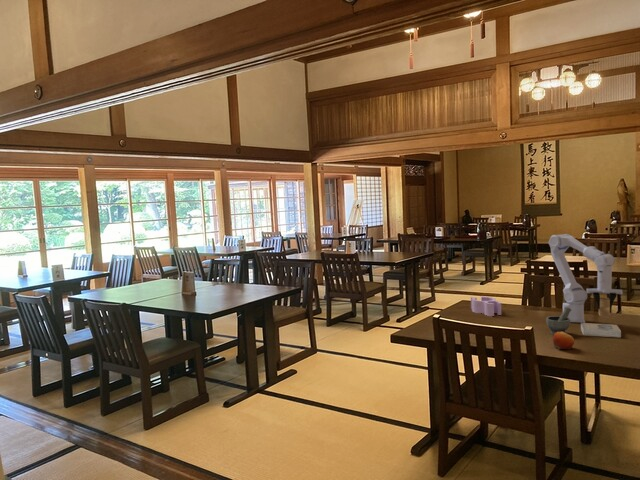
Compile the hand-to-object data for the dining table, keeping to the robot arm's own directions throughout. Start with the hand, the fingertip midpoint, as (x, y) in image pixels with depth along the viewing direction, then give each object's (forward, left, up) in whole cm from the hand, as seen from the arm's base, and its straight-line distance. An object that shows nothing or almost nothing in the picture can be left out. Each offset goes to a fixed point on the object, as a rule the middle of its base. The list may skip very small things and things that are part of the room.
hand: (604, 308), depth 231 cm
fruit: (-20, -38, -9) cm, 44 cm away
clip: (-54, +20, -10) cm, 58 cm away
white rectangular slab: (-3, -11, -9) cm, 14 cm away
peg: (0, 0, -3) cm, 3 cm away
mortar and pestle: (-20, -15, -9) cm, 26 cm away
